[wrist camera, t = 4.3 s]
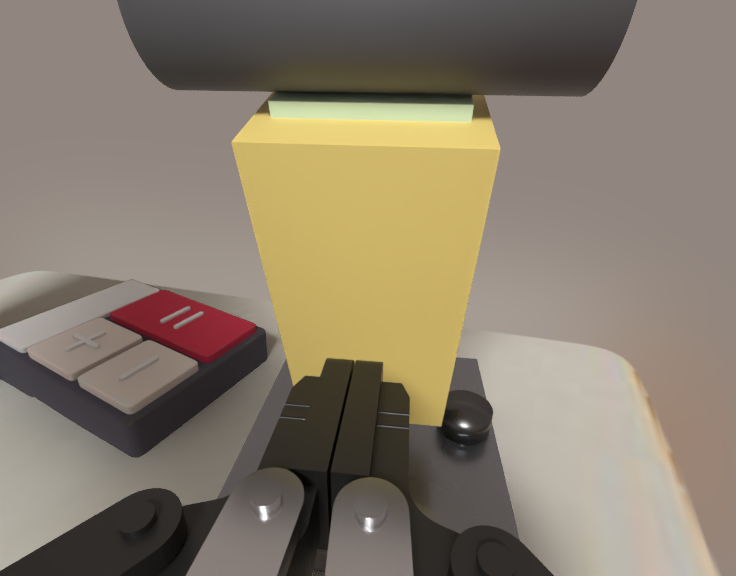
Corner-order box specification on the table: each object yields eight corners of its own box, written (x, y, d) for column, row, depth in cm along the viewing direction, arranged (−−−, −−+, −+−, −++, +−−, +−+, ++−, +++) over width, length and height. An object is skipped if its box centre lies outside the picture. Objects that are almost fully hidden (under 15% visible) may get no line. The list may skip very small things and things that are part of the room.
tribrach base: (221, 558, 17) (206, 491, 16) (295, 382, 28) (291, 330, 26) (507, 593, 16) (526, 525, 15) (470, 396, 27) (479, 343, 25)
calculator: (124, 415, 21) (-25, 327, 26) (140, 473, 23) (-2, 379, 28) (267, 320, 29) (132, 270, 35) (270, 368, 31) (141, 313, 37)
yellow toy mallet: (264, 432, 19) (54, -99, 7) (290, 348, 23) (184, -97, 10) (481, 452, 18) (701, -117, 6) (472, 361, 22) (595, -108, 9)
